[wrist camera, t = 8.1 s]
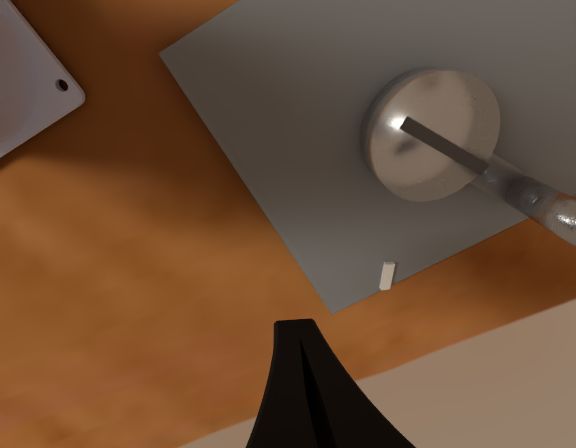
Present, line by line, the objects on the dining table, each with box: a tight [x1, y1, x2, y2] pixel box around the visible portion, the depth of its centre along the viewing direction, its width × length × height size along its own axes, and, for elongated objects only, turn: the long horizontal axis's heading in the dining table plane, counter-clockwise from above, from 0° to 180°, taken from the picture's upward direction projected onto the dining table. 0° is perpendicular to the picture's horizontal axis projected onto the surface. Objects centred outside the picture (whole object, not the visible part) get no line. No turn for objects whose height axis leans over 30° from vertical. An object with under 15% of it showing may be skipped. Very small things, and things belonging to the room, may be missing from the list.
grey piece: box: [360, 67, 576, 246], centre depth 16 cm, size 11×6×5 cm, turn 62°
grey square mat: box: [158, 0, 576, 314], centre depth 18 cm, size 18×18×1 cm
